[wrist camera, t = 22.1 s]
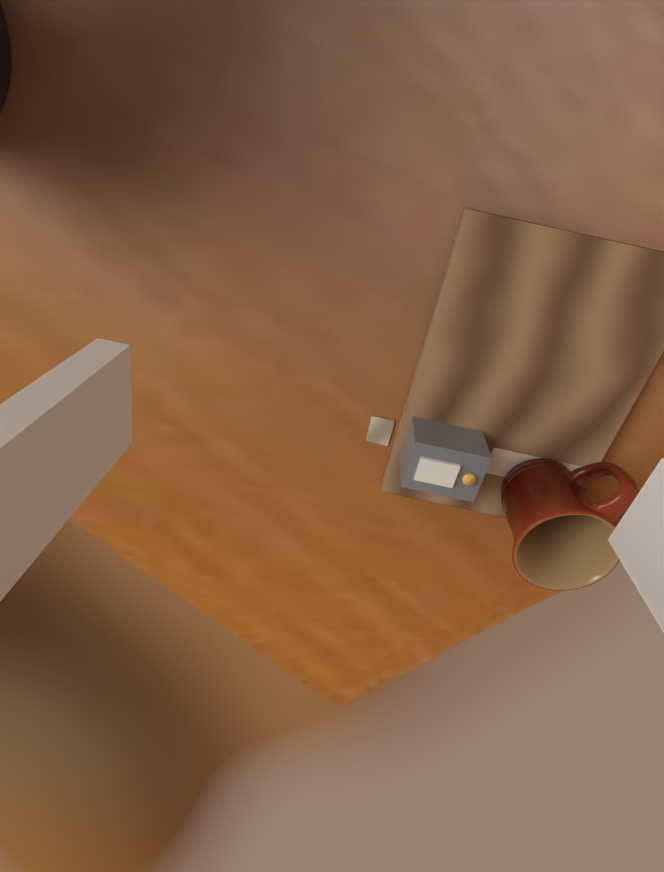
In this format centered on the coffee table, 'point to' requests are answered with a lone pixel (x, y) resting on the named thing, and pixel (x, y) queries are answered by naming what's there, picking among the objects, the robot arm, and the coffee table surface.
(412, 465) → the block
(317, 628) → the coffee table surface
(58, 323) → the coffee table surface
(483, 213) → the board
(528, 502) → the mug
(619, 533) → the robot arm
